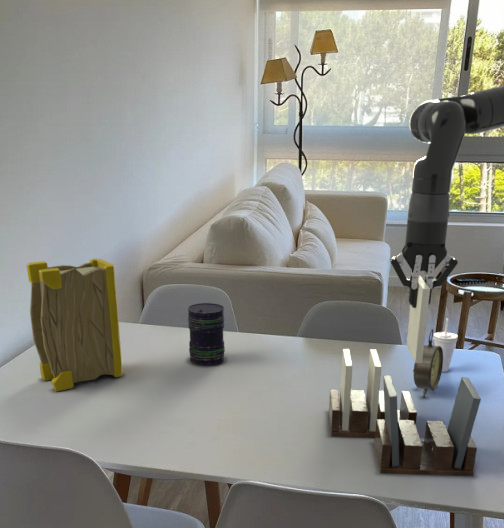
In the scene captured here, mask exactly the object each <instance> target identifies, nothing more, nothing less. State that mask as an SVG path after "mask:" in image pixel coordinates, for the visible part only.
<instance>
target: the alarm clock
mask: <svg viewBox="0 0 504 528" xmlns="http://www.w3.org/2000/svg"><path fill="white" fill-rule="evenodd" d="M433 335H434V328H431V329H430V331H429V334H428V344H424V350H423V359H422V363H415V362H414V364H413V370H412V372H413V383H414V385H415V386H416V389H421V390H423V395H422V399H424V398H426V395H427V391H435V390H437V388H438V385H439V383H440V381H441V378H442V373H443V372H442V367H443V350H442V348H441V346H434V344H433Z"/></svg>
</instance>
